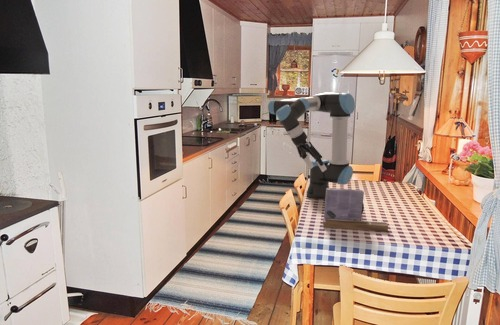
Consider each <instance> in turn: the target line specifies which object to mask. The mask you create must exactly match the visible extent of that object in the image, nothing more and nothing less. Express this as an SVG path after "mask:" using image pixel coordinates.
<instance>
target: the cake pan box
mask: <svg viewBox="0 0 500 325" xmlns="http://www.w3.org/2000/svg"><path fill="white" fill-rule="evenodd" d="M364 192H365V191H364V190H362V189H348V188H334V187H333V188H332V187H331V188H330V187H329V188H326V197H325V199H324V200H325V201H324V213H323V218H325V219H341V220H357V221H363V219H362V218H363V213H364V209H365V208H364V207H365V206H364V196H365V193H364Z"/></svg>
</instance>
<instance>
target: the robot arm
mask: <svg viewBox="0 0 500 325" xmlns="http://www.w3.org/2000/svg"><path fill="white" fill-rule="evenodd" d="M355 108H356V102H355V98H354V97H353V95H352V94H351V93H348V92H323V93H318V94H312V95H309V97H298V98H296V97H295V98H290V99H289V98H287V99H278V100H277V99H272V100H270V101H269V102H268V105H267V111H268V112H269V113H270V115H275V116H277V118H278V121H279V122H280V124H281V125H282V126H283V128H284V129H285V131H286V133H287V134H286V135H287V136H288V137H289V139H291V141H292V143H293V145H294V146H295V148H296V150H297V153H298V155H299V158H302V159H303V161H304V163H305V165H306V166H307V167H308V169H309V184H308V187H307V190H306V196H307V197H308V198H312V199H317V200H325V197H326V188H330V186H329V183H332V184H338V185H344V186H345V185H347V184H349V182H350V181H351V179H352V177H353V176H354V175H353V174H354V169H353V166H351V165H350V161H349V160H348V158H347V157H348V156H347V155H348V124H349V122H348V120H349V118H350V117H351V114H353V113H354V112H355ZM307 111H308V112H309V111H311V112H321V113H329V117H330V118H331V119H332V120H331V122H332V123H331V124H332V127H331V128H332V132H331V136H332V137H331V159H323V155H322V154H321V153H320V152H319V151H318V150H317V149H316V147H315V146H314V145H313V143H312V142H311V141H308V142H307V138H308V135H307V133H306V132H305V131H304V128H303V127H302V125H301V123H300V122H299V118H301V117H302V116H303V115H304V114H305V113H306V112H307ZM307 153H308V154H309V155H310V156H311V157H312V158H313V160H312V161H311V159H310V158H309V155H308V154H307Z"/></svg>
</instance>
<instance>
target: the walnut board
mask: <svg viewBox="0 0 500 325" xmlns="http://www.w3.org/2000/svg"><path fill="white" fill-rule="evenodd" d="M322 219H323V221H322V226H323V228H325V229H335V230H336V229H337V230H338V229H340V230H352V231H354V230H356V231H367V232H368V231H369V232H379V233H380V232H384V233H388V232H389V230H388V229H389V225H388V223H387V221H383V222H382V221H370V220H361V221H357V220H341V219H325V218H324V217H323V218H322Z"/></svg>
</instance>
